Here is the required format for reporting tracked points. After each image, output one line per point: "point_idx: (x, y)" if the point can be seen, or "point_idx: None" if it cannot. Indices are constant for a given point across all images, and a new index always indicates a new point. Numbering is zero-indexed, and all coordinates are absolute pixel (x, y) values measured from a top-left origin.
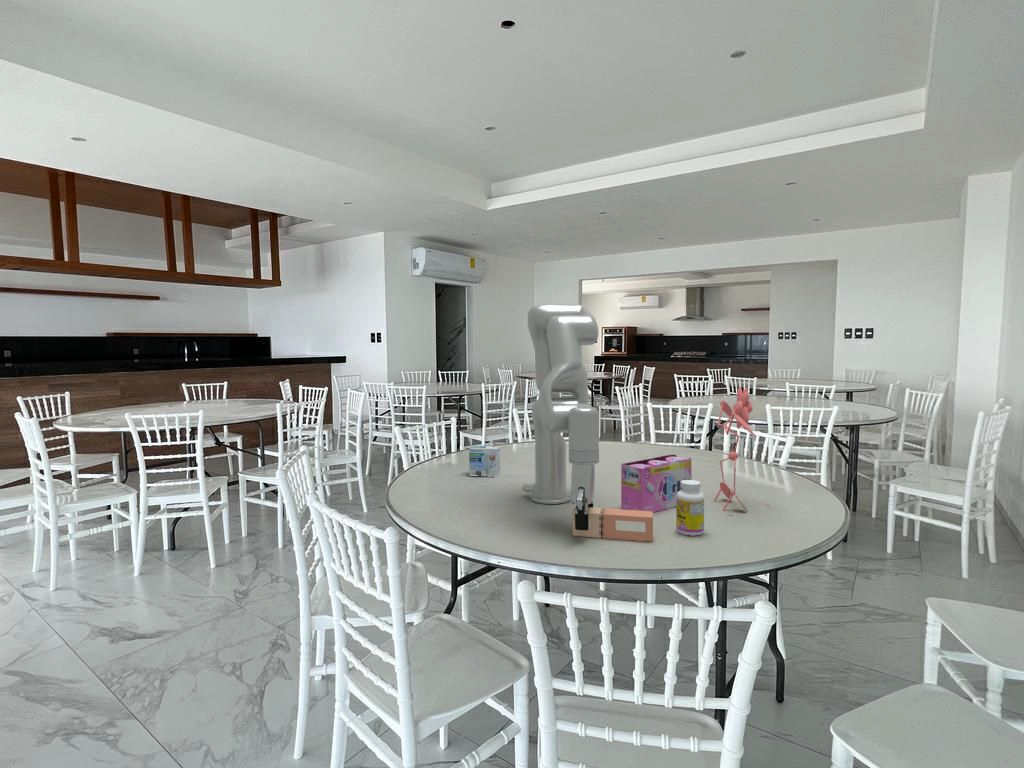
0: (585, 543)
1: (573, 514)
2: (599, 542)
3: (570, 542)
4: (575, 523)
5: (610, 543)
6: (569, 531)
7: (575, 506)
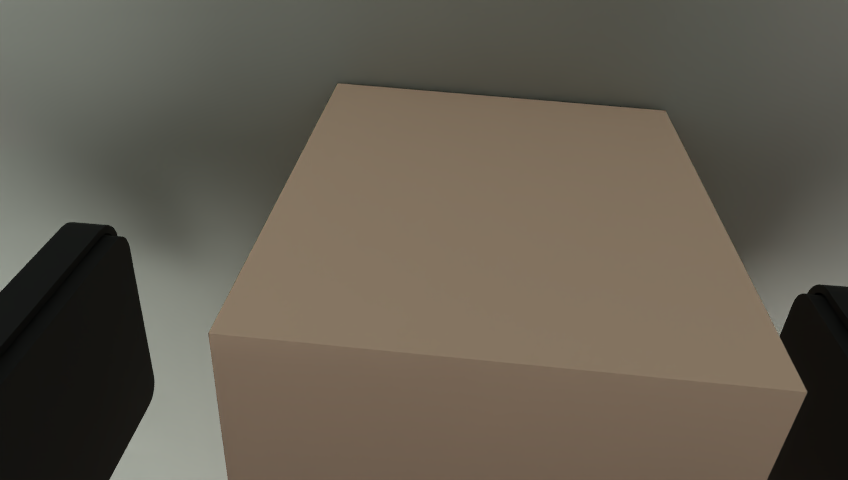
0: None
1: (234, 310)
2: (198, 389)
3: (52, 68)
4: (16, 284)
5: (208, 473)
6: (556, 12)
7: (779, 392)
